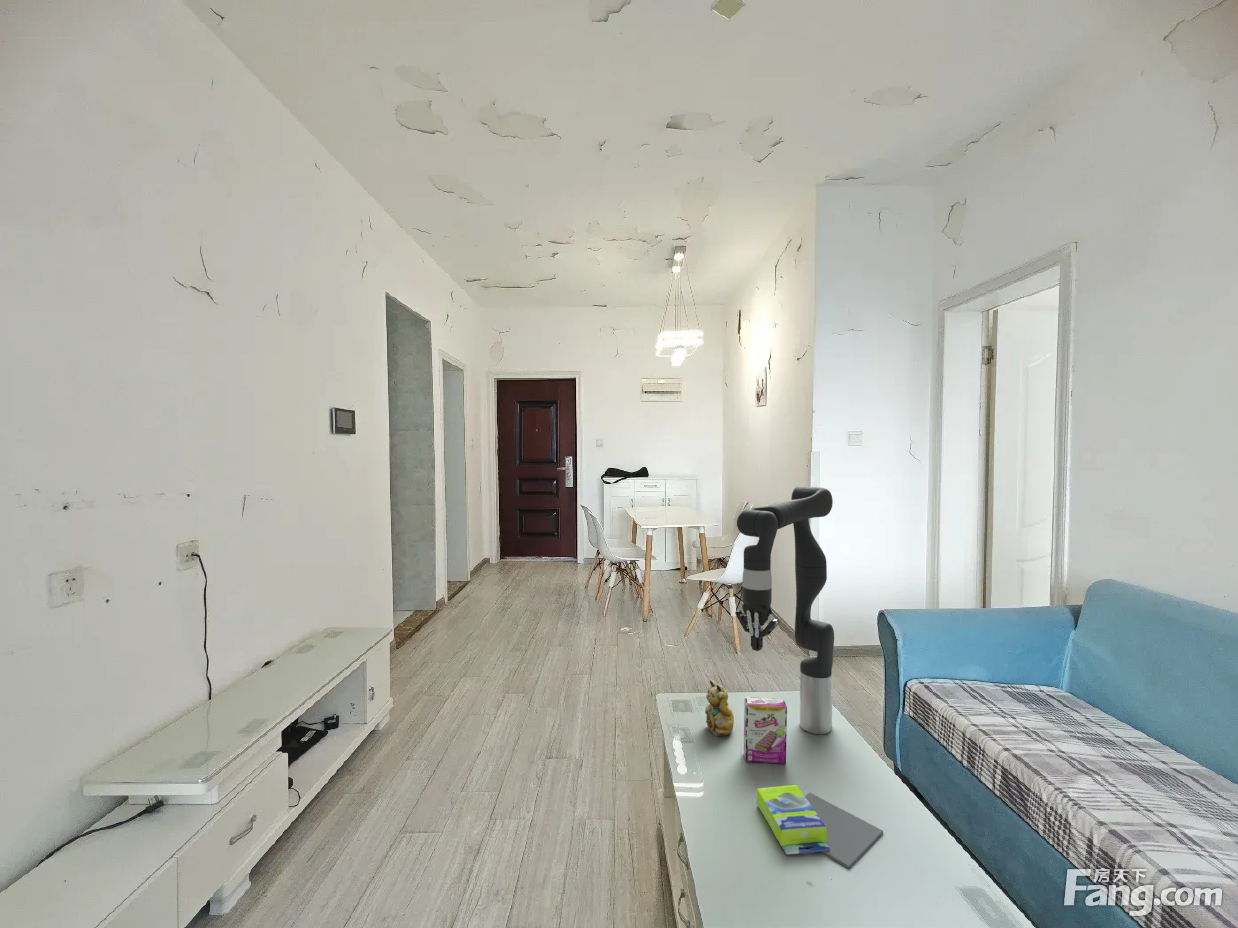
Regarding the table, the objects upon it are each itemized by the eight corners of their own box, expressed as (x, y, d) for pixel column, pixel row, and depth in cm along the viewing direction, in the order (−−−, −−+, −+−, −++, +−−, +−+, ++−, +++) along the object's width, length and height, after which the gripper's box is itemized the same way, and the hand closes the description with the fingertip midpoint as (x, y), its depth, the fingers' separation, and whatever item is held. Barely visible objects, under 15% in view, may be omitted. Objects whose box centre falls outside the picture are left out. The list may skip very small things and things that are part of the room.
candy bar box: (745, 763, 149) (745, 704, 149) (743, 753, 154) (743, 696, 154) (787, 765, 148) (787, 706, 147) (783, 755, 153) (783, 697, 152)
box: (796, 783, 132) (832, 831, 115) (797, 799, 132) (832, 850, 115) (755, 786, 131) (784, 836, 114) (755, 803, 131) (784, 856, 114)
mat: (809, 794, 135) (809, 792, 135) (883, 833, 121) (883, 830, 121) (772, 823, 125) (772, 820, 125) (848, 868, 111) (848, 865, 111)
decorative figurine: (700, 725, 169) (700, 678, 169) (722, 720, 173) (722, 673, 172) (718, 740, 160) (718, 690, 160) (741, 734, 164) (741, 685, 163)
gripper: (786, 587, 141) (786, 653, 142) (745, 578, 151) (744, 640, 152) (770, 592, 136) (769, 660, 137) (728, 582, 146) (727, 646, 147)
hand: (756, 649), depth 144 cm, fingers closed
